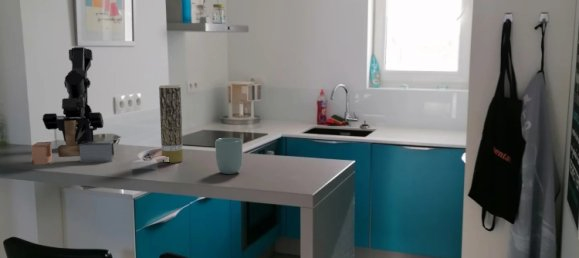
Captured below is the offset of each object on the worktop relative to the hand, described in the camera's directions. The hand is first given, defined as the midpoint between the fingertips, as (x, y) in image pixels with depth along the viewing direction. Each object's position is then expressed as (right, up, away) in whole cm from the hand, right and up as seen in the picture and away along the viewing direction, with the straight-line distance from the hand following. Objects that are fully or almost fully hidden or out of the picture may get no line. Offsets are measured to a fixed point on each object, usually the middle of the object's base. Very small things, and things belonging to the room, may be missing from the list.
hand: (70, 141), depth 191 cm
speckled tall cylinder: (+34, -7, 0) cm, 34 cm away
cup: (+54, -9, -17) cm, 58 cm away
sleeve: (+8, -7, +3) cm, 11 cm away
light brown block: (-10, -7, +1) cm, 12 cm away
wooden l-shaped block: (+4, -5, +3) cm, 7 cm away
